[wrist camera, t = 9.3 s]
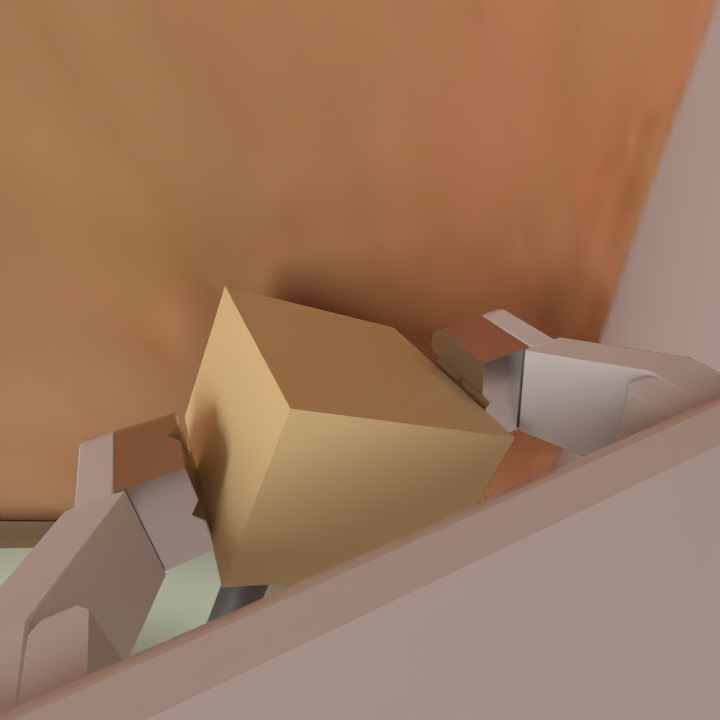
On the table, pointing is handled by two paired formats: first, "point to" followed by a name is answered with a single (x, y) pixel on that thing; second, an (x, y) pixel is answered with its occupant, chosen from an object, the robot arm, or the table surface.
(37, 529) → the shelf lane
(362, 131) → the table surface
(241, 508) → the block plunger with rod
